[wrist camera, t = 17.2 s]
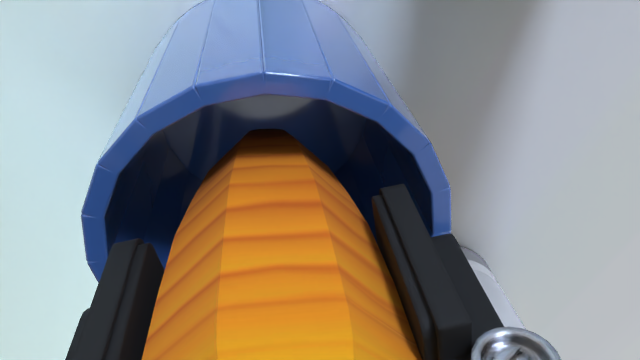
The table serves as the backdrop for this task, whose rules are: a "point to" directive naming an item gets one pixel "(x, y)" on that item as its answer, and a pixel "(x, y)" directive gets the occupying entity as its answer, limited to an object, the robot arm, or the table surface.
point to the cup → (255, 119)
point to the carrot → (276, 267)
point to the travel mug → (493, 290)
